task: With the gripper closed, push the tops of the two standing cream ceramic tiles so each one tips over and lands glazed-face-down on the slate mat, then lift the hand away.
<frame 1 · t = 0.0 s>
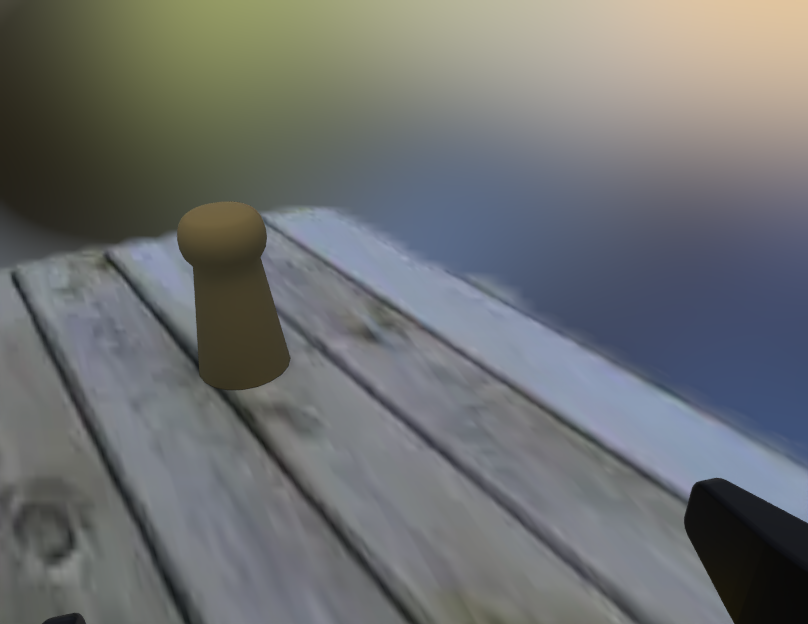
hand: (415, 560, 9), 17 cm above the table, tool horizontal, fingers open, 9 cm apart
cork: (245, 365, 44), on the table
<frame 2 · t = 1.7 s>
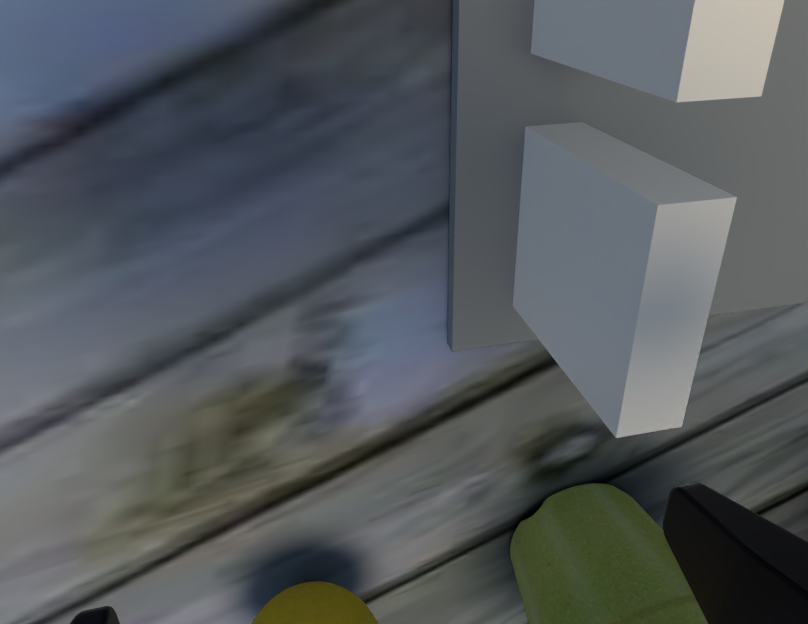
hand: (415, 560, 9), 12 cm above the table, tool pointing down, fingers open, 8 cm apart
plant pot: (569, 528, 29), on the table
lemon: (304, 581, 27), on the table
tile a: (545, 219, 21), point 1 cm above the table, touching slate mat
slate mat: (685, 76, 20), on the table
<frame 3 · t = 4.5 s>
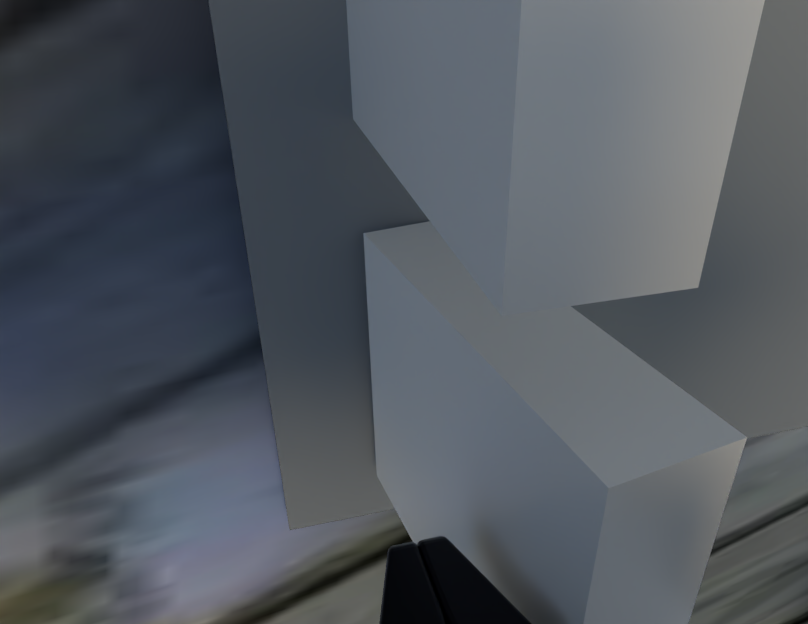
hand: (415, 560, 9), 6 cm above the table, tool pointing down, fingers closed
tile a: (410, 357, 14), point 1 cm above the table, tilted 9°, touching gripper, slate mat
slate mat: (612, 142, 13), on the table
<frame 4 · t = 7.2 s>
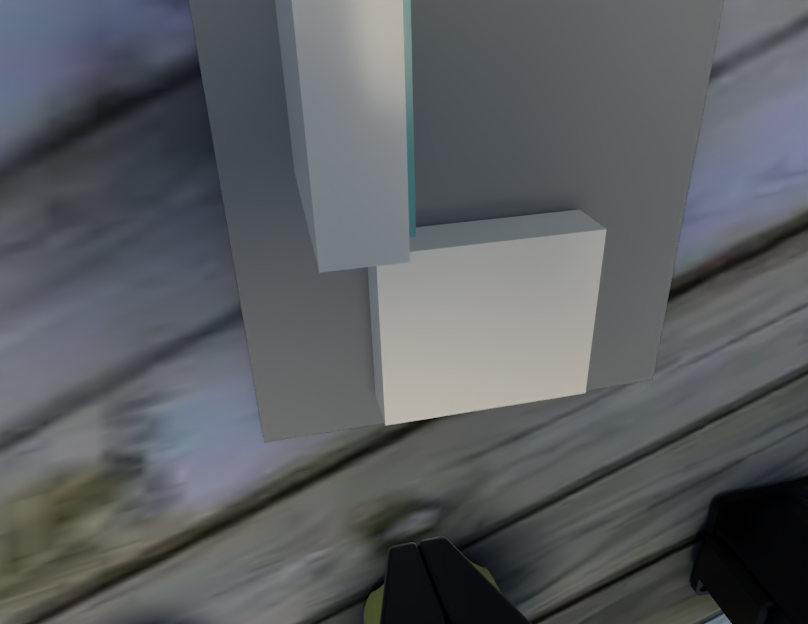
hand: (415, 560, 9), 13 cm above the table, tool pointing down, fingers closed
tile b: (315, 58, 17), point 1 cm above the table, touching slate mat
plant pot: (427, 596, 30), on the table
tile a: (375, 332, 20), point 2 cm above the table, tilted 90°, touching slate mat
slate mat: (468, 182, 20), on the table
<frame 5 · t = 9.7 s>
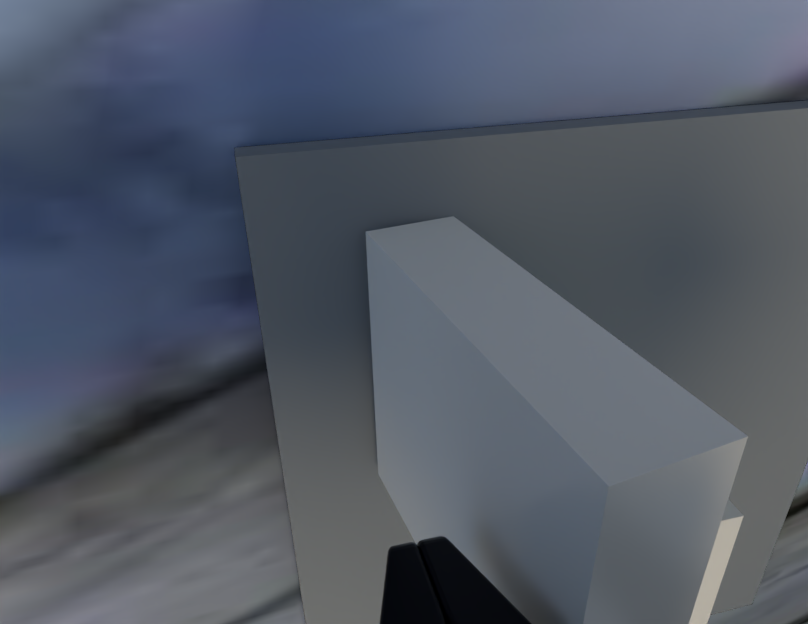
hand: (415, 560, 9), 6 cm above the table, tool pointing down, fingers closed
tile b: (412, 356, 14), point 1 cm above the table, tilted 9°, touching slate mat
tile a: (462, 623, 17), point 2 cm above the table, tilted 90°, touching slate mat
slate mat: (571, 441, 17), on the table
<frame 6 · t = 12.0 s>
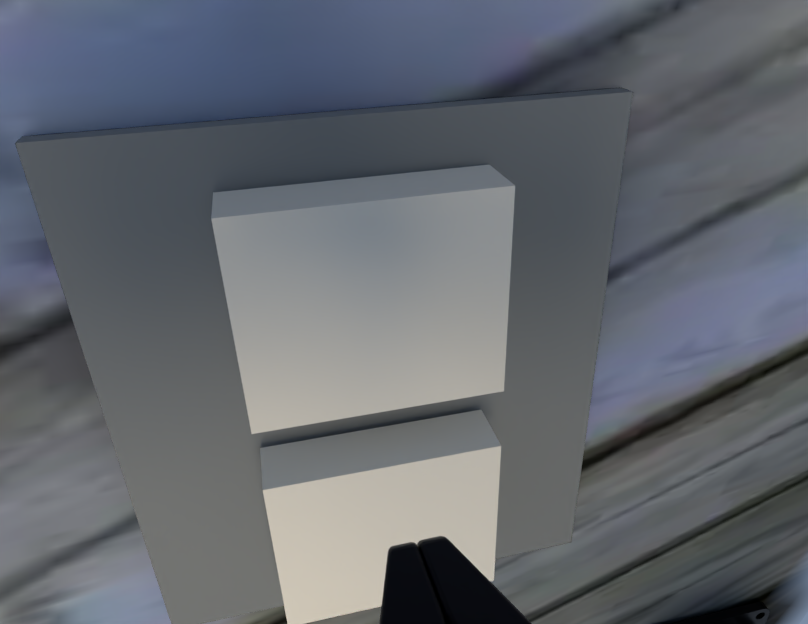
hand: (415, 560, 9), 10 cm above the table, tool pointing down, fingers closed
tile b: (233, 318, 16), point 2 cm above the table, tilted 90°, touching slate mat
tile a: (274, 540, 20), point 2 cm above the table, tilted 90°, touching slate mat
slate mat: (367, 387, 20), on the table
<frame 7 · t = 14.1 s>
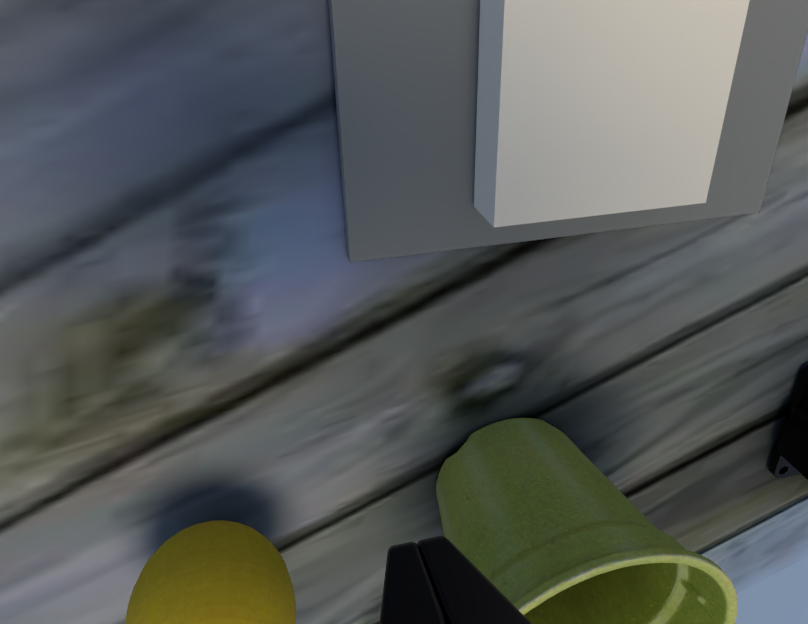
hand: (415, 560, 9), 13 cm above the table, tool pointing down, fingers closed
plant pot: (501, 469, 28), on the table
lemon: (214, 525, 26), on the table
tile a: (487, 116, 18), point 2 cm above the table, tilted 90°, touching slate mat
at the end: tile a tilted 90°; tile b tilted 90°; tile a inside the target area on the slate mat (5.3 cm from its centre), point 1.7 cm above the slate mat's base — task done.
